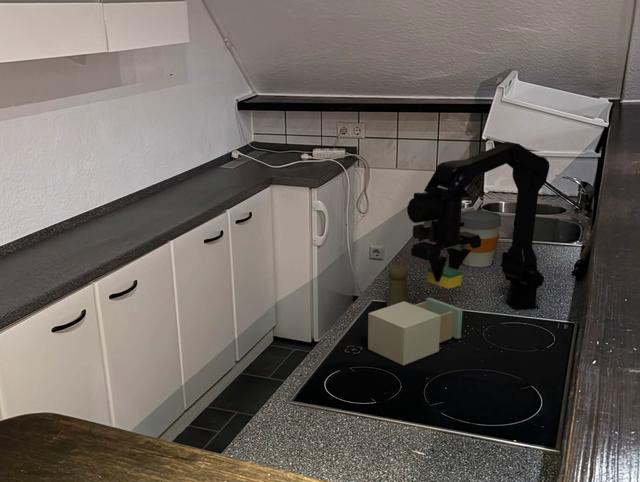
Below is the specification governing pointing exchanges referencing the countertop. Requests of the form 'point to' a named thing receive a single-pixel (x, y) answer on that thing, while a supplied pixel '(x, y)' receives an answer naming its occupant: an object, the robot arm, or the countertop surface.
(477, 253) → the reusable coffee cup
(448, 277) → the sponge
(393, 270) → the olive brown pawn
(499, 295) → the countertop surface
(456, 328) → the drawer
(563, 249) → the countertop surface
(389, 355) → the beige cube
